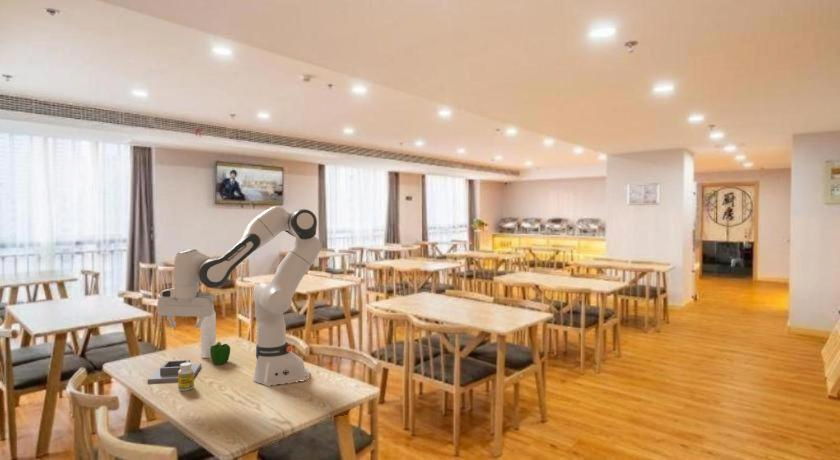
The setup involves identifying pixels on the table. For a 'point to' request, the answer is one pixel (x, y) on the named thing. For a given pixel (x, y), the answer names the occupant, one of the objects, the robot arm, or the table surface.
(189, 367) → the supplement bottle
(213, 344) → the water bottle
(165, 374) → the bottle stand
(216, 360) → the bell pepper
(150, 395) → the table surface
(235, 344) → the table surface
